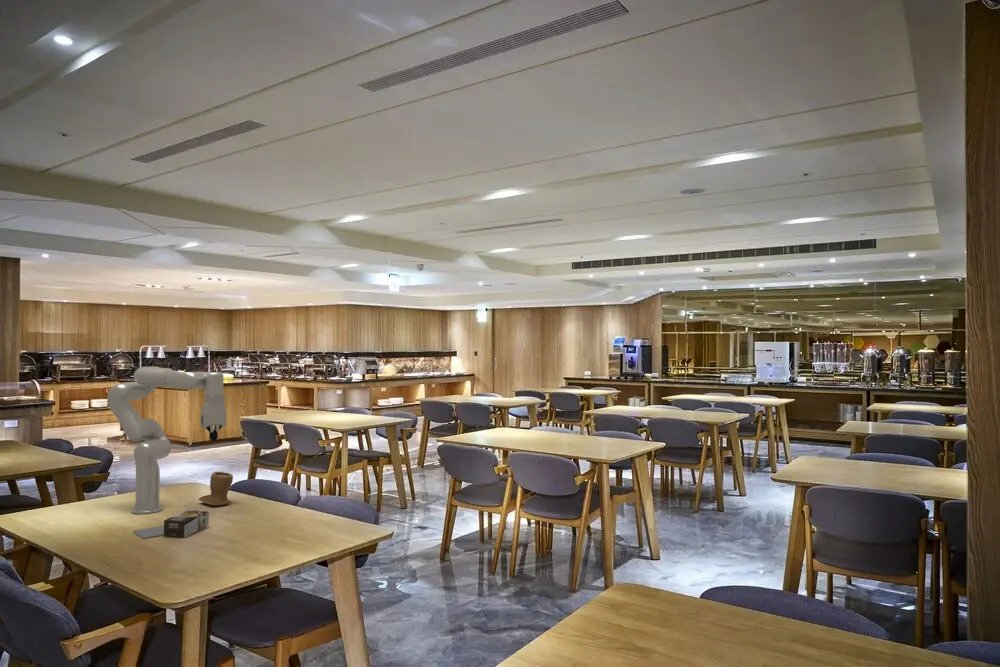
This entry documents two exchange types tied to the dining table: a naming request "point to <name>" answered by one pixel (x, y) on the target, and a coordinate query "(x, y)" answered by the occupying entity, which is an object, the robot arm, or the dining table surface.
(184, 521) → the coffee box
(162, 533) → the mat
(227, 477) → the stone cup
